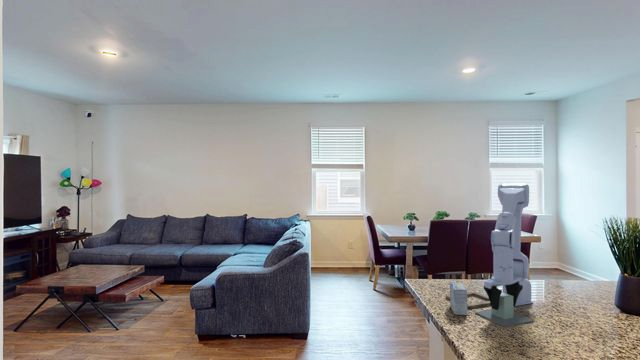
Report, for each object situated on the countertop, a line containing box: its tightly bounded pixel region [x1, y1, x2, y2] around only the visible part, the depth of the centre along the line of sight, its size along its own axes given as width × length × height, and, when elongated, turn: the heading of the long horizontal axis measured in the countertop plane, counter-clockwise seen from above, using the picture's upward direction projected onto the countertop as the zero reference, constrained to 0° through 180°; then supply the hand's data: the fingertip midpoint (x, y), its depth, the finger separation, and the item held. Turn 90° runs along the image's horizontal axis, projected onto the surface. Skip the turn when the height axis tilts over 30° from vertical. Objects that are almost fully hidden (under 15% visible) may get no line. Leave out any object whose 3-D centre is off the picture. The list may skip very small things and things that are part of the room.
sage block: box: [491, 291, 514, 319], centre depth 114 cm, size 4×5×7 cm
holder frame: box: [445, 291, 491, 310], centre depth 129 cm, size 14×12×1 cm
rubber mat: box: [474, 308, 534, 328], centre depth 114 cm, size 12×12×1 cm
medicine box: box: [449, 282, 469, 316], centre depth 120 cm, size 8×4×9 cm, turn 168°
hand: (503, 307), depth 114 cm, fingers open, 7 cm apart
